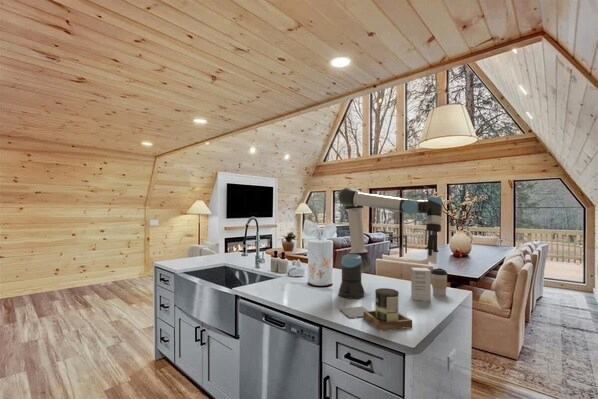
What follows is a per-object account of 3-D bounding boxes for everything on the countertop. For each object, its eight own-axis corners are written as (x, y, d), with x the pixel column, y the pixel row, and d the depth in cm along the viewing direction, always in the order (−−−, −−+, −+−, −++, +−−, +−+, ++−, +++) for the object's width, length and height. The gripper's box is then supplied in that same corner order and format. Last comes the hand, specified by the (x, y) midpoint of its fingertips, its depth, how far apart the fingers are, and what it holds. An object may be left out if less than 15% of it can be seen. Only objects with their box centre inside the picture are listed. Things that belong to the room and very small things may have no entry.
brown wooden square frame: (363, 317, 143) (363, 311, 143) (392, 315, 147) (392, 308, 147) (380, 330, 128) (380, 323, 128) (412, 327, 132) (412, 320, 132)
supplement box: (431, 301, 169) (431, 270, 170) (413, 300, 171) (413, 270, 172) (427, 296, 179) (427, 267, 179) (411, 295, 180) (410, 266, 181)
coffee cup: (446, 297, 177) (446, 271, 177) (430, 295, 181) (429, 269, 182) (448, 293, 184) (448, 268, 185) (432, 291, 189) (432, 267, 190)
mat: (338, 309, 155) (338, 308, 155) (362, 307, 158) (362, 306, 158) (349, 318, 142) (349, 317, 142) (374, 316, 145) (374, 314, 145)
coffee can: (374, 325, 134) (374, 293, 135) (375, 317, 144) (375, 287, 144) (399, 328, 131) (399, 295, 132) (398, 319, 141) (398, 289, 141)
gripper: (438, 220, 156) (436, 262, 152) (443, 228, 177) (442, 265, 172) (422, 219, 160) (420, 260, 156) (429, 227, 181) (428, 263, 176)
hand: (431, 262), depth 164 cm, fingers open, 13 cm apart
